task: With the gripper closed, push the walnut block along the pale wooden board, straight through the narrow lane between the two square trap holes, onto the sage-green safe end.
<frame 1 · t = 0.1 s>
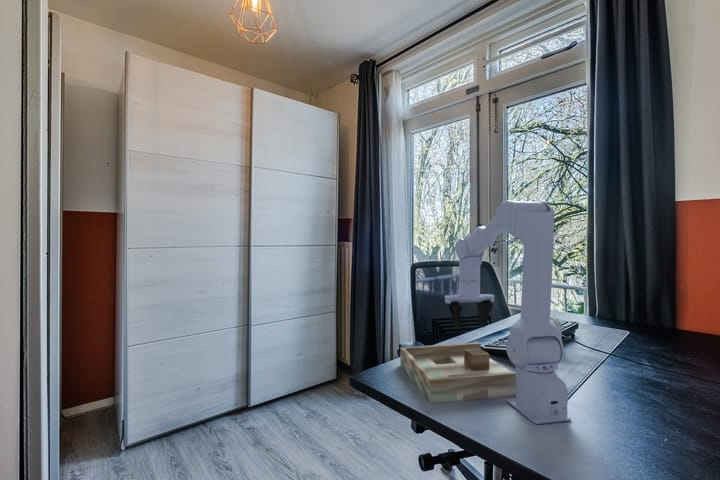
hand: (469, 327, 96), 10 cm above the table, tool pointing down, fingers open, 7 cm apart
watch: (547, 350, 106), on the table
block: (476, 367, 85), point 2 cm above the table, touching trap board
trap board: (458, 378, 84), on the table
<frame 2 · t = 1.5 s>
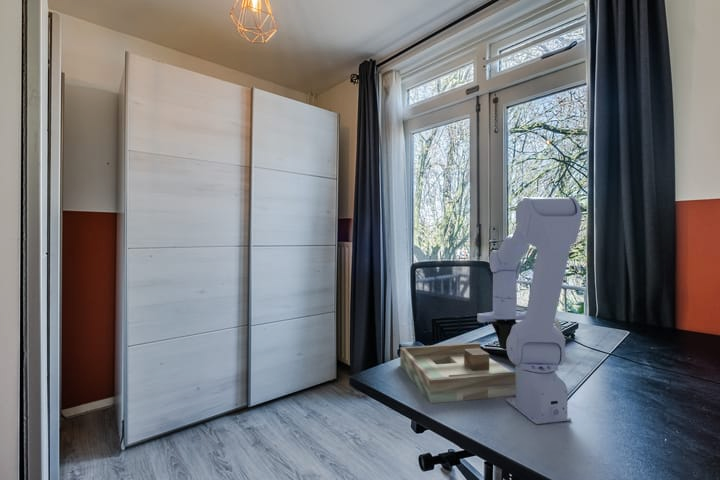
hand: (504, 348, 87), 7 cm above the table, tool pointing down, fingers closed
nothing on the table moved.
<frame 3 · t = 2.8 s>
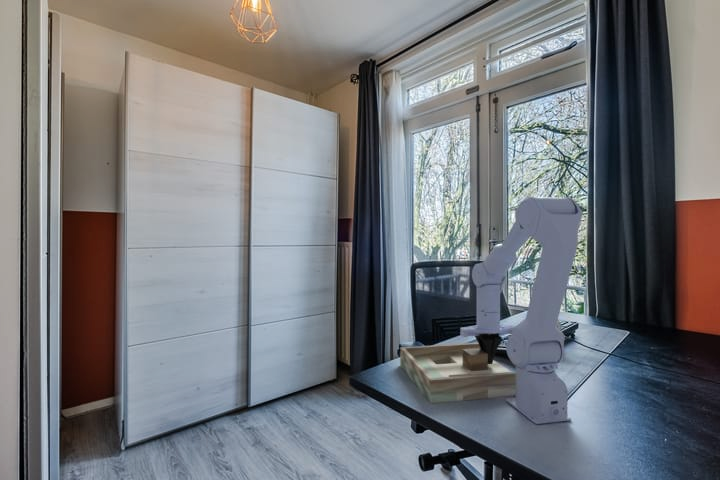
hand: (488, 362, 86), 3 cm above the table, tool pointing down, fingers closed
block: (474, 367, 85), point 3 cm above the table, touching gripper
everything else where it was.
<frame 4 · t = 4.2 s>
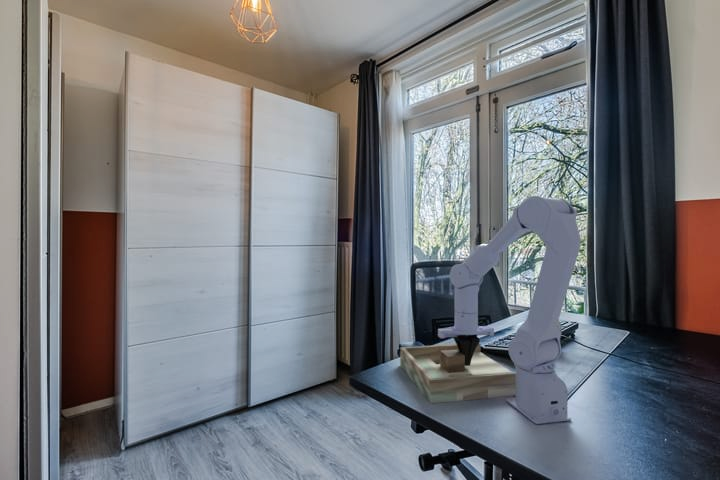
hand: (465, 364, 85), 3 cm above the table, tool pointing down, fingers closed
block: (452, 368, 84), point 3 cm above the table, touching gripper, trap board
everything else where it was.
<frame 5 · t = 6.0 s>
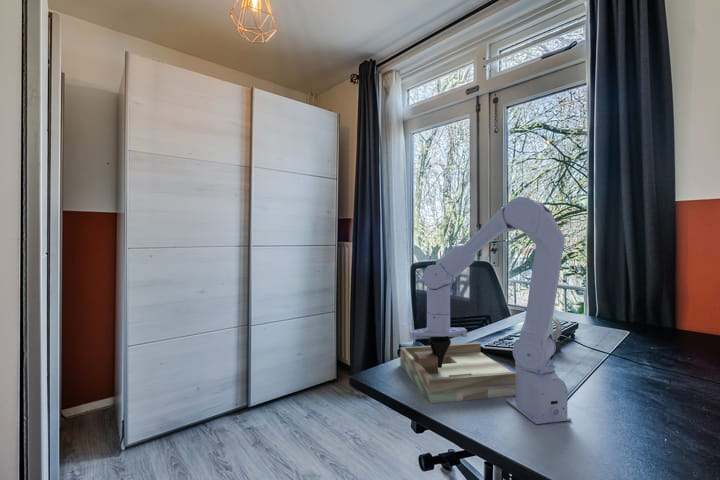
hand: (438, 366, 84), 3 cm above the table, tool pointing down, fingers closed
block: (425, 370, 83), point 3 cm above the table, touching gripper, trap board
everything else where it was.
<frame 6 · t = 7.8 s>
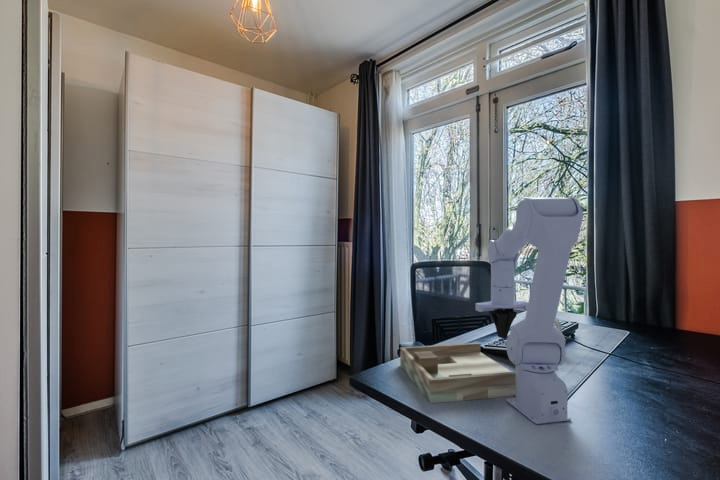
hand: (502, 337, 88), 9 cm above the table, tool pointing down, fingers closed
block: (425, 370, 83), point 2 cm above the table, touching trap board
everything else where it was.
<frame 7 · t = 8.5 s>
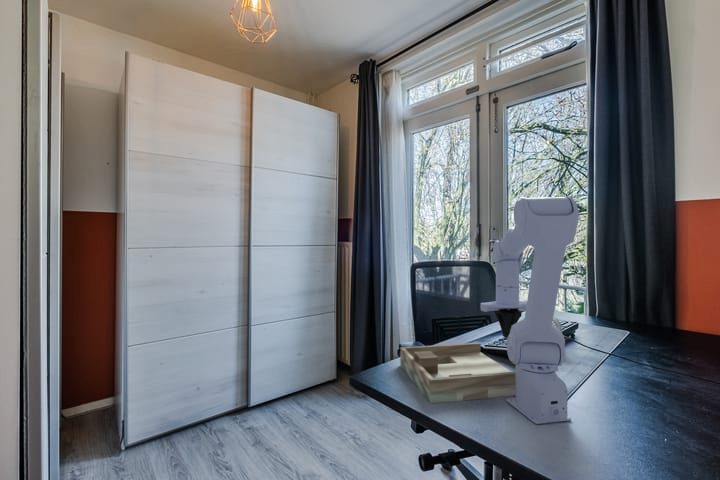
hand: (507, 337, 88), 9 cm above the table, tool pointing down, fingers closed
nothing on the table moved.
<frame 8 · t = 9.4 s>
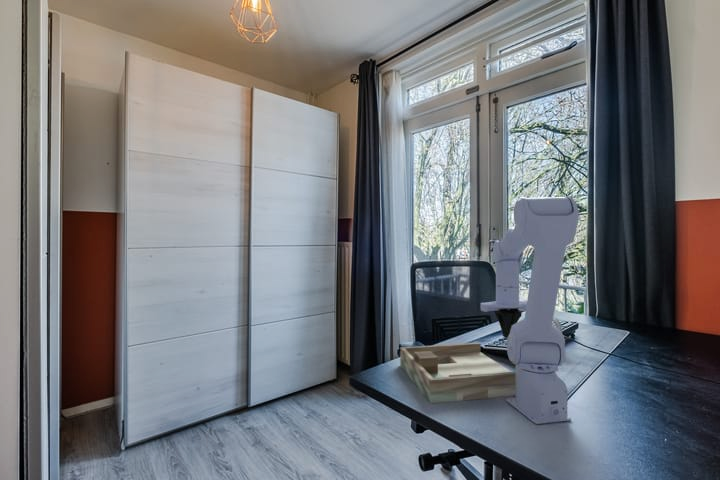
hand: (507, 337, 88), 9 cm above the table, tool pointing down, fingers closed
nothing on the table moved.
at the end: block 0.7 cm from the target spot on the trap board, point 2.5 cm above the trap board's base; block tilted 0° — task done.
